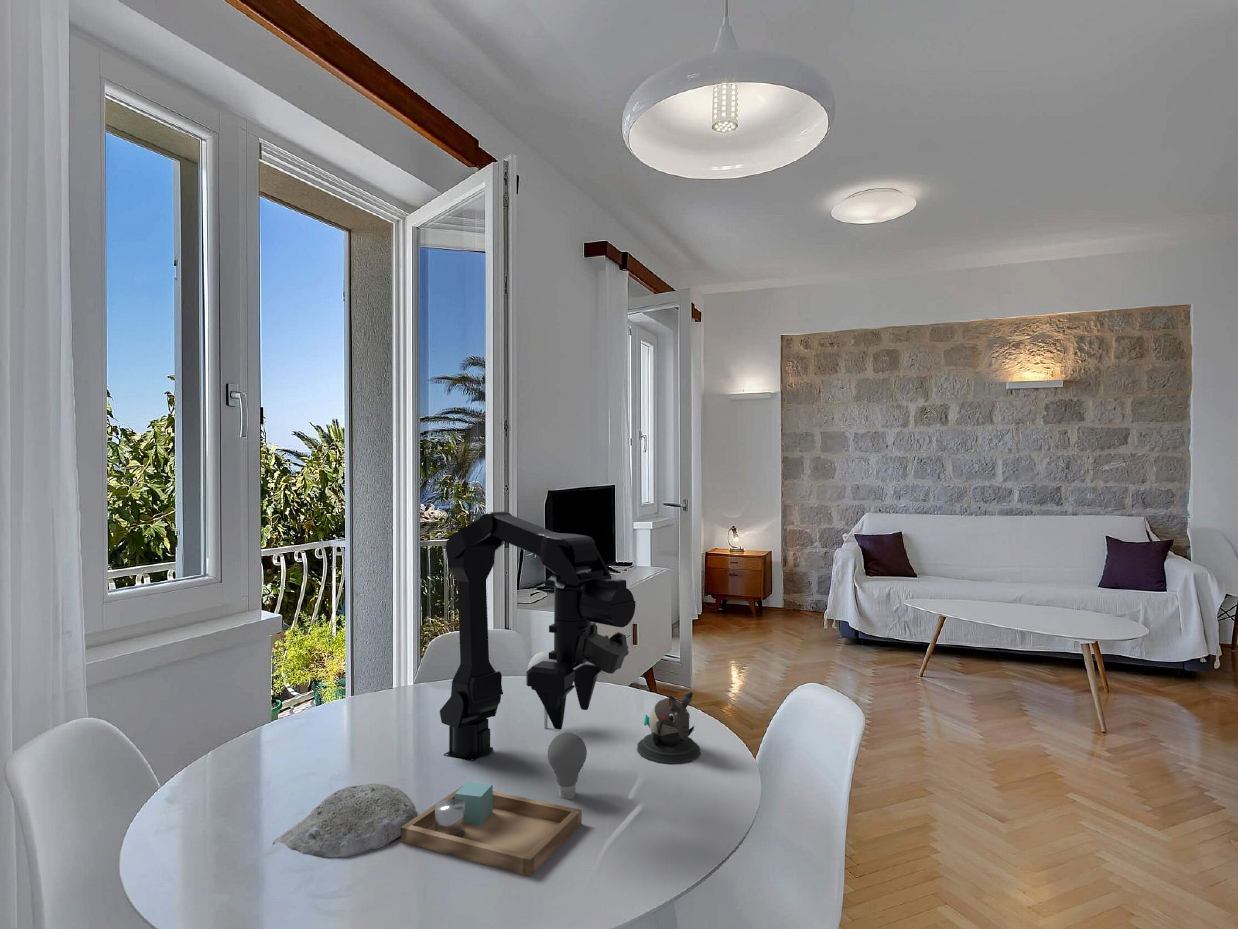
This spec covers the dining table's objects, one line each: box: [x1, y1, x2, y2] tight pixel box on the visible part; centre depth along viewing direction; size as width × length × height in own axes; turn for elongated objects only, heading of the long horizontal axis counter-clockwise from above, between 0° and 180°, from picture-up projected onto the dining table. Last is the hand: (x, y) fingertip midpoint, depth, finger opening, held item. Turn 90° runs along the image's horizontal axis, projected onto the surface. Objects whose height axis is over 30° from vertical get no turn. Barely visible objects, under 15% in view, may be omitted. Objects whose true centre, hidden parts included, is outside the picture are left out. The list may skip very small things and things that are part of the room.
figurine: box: [636, 691, 702, 765], centre depth 125 cm, size 11×12×12 cm
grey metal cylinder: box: [435, 799, 465, 838], centre depth 95 cm, size 4×4×4 cm
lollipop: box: [527, 650, 558, 730], centre depth 137 cm, size 7×7×15 cm
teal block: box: [455, 781, 494, 825], centre depth 100 cm, size 4×4×4 cm
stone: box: [272, 783, 417, 858], centre depth 97 cm, size 18×8×15 cm
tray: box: [400, 786, 583, 877], centre depth 95 cm, size 20×14×2 cm
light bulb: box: [547, 731, 588, 800], centre depth 107 cm, size 6×6×10 cm
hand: (571, 719), depth 108 cm, fingers open, 9 cm apart
